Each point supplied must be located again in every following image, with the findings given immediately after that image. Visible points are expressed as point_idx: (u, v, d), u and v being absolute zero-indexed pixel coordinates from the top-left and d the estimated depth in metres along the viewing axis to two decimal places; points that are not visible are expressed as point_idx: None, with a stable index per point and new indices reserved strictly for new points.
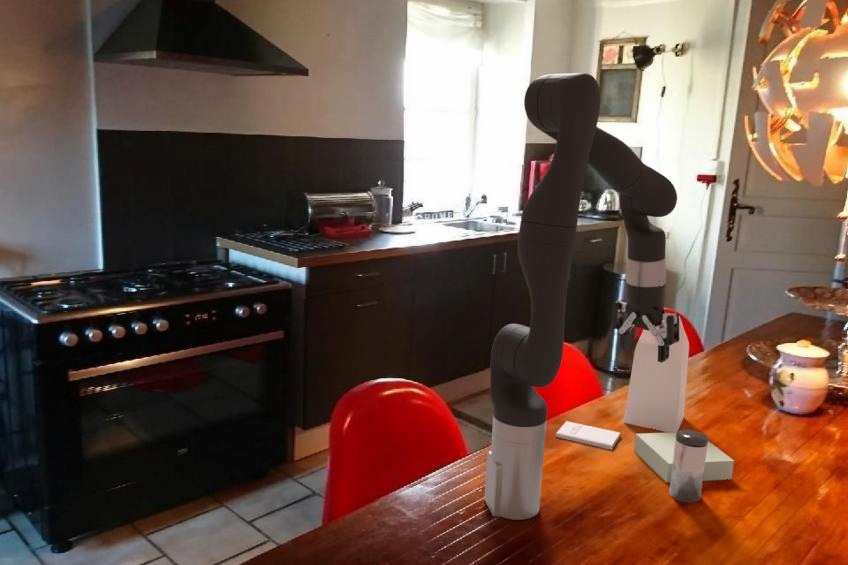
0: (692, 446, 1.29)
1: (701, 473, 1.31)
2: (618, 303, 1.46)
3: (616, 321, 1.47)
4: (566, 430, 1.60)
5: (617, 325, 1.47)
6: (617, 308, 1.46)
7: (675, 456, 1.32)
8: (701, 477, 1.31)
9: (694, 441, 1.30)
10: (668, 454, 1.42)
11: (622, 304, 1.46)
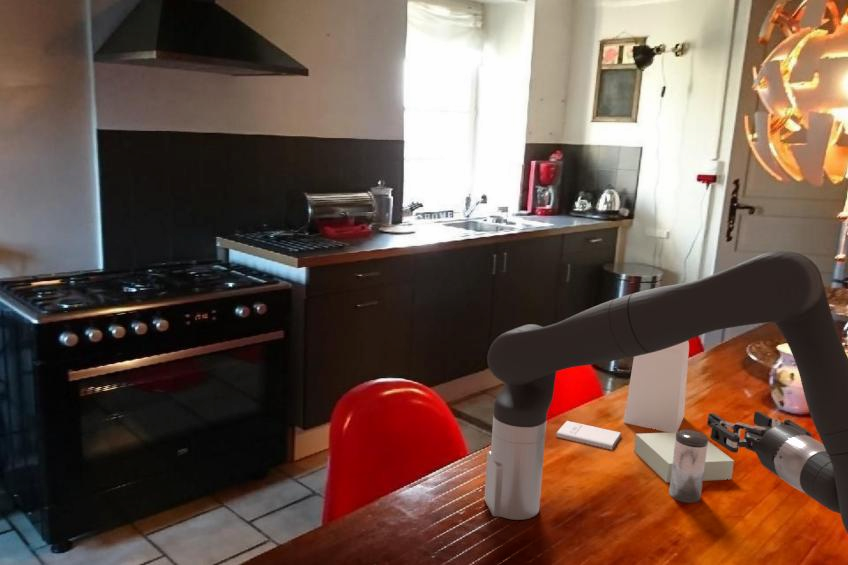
0: (692, 446, 1.29)
1: (701, 473, 1.31)
2: None
3: (790, 424, 1.15)
4: (566, 429, 1.60)
5: (786, 423, 1.16)
6: (801, 431, 1.12)
7: (675, 456, 1.32)
8: (701, 477, 1.31)
9: (694, 441, 1.30)
10: (668, 454, 1.42)
11: None
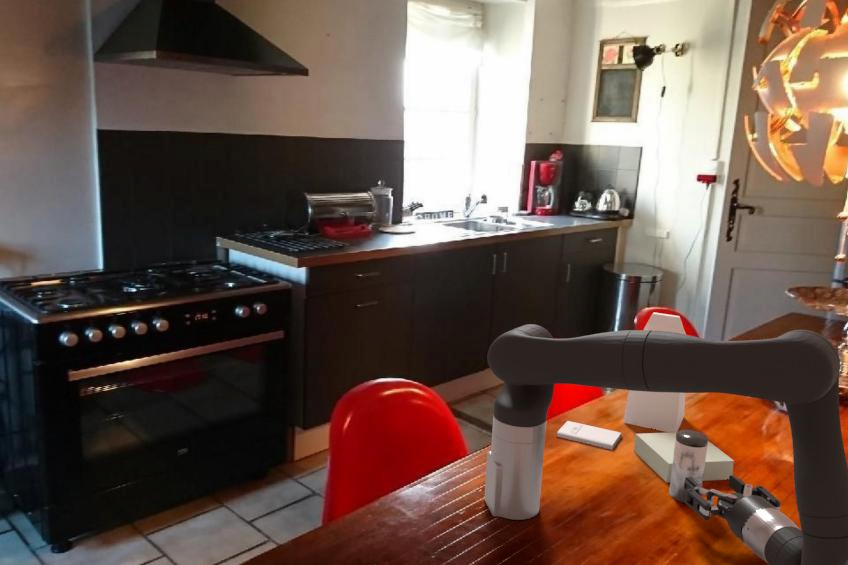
0: (692, 446, 1.29)
1: (701, 473, 1.31)
2: (775, 504, 1.18)
3: (762, 490, 1.21)
4: (566, 429, 1.60)
5: (757, 489, 1.22)
6: (771, 499, 1.18)
7: (675, 456, 1.32)
8: (701, 477, 1.31)
9: (694, 441, 1.30)
10: (668, 454, 1.42)
11: None
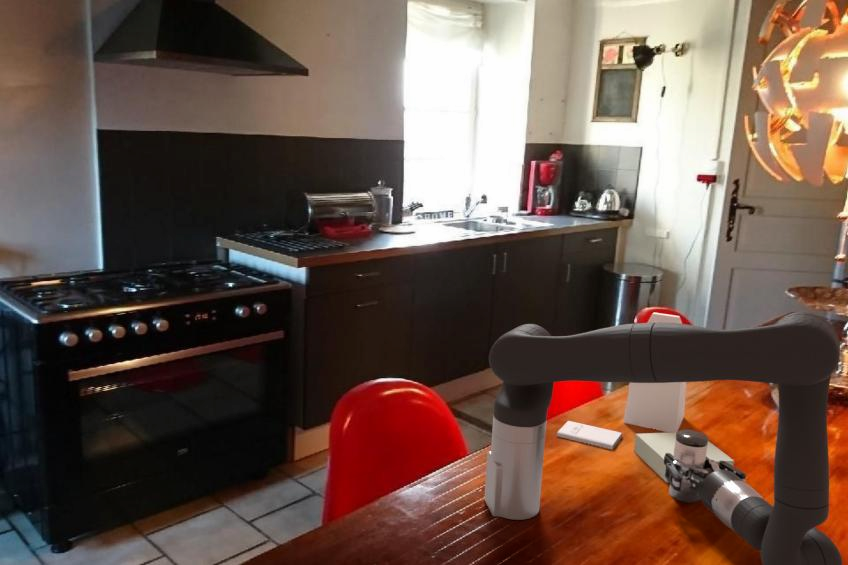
0: (692, 446, 1.29)
1: None
2: (741, 476, 1.27)
3: (725, 465, 1.30)
4: (567, 429, 1.60)
5: (720, 464, 1.31)
6: (737, 472, 1.27)
7: (675, 456, 1.32)
8: None
9: (694, 441, 1.30)
10: None
11: None
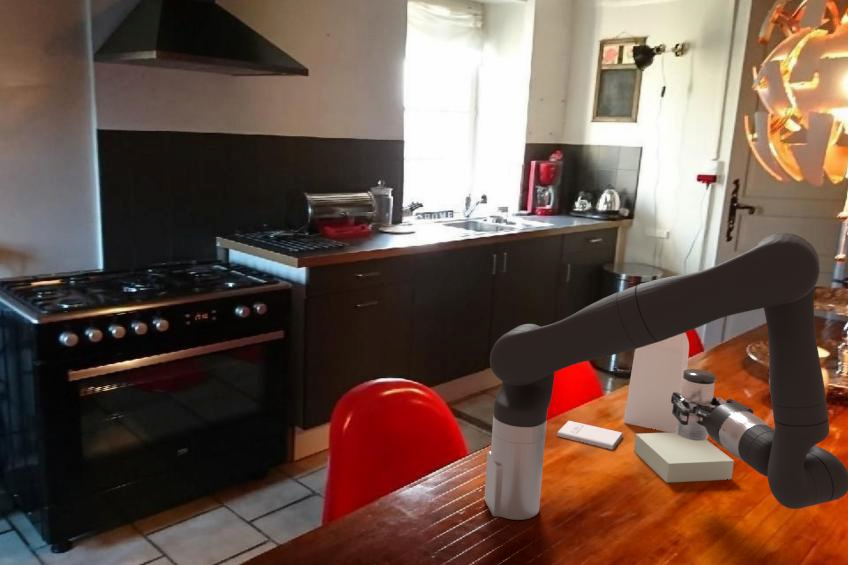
0: (700, 382, 1.30)
1: None
2: (749, 412, 1.27)
3: (733, 402, 1.30)
4: (567, 429, 1.60)
5: (728, 401, 1.31)
6: (745, 408, 1.27)
7: (683, 394, 1.32)
8: None
9: (701, 378, 1.30)
10: (668, 454, 1.42)
11: None
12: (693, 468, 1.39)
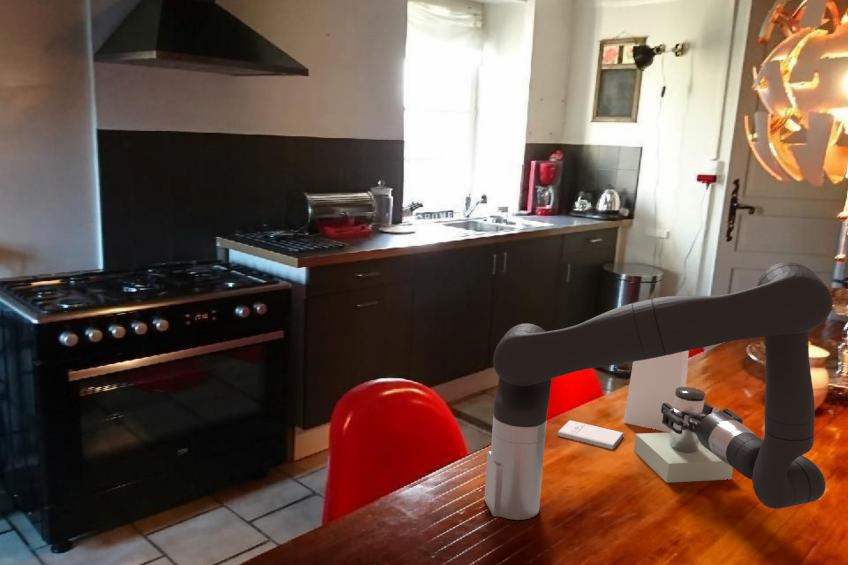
0: (690, 400, 1.41)
1: None
2: (738, 421, 1.37)
3: (727, 412, 1.41)
4: (568, 429, 1.60)
5: (724, 411, 1.42)
6: (735, 418, 1.38)
7: None
8: None
9: (692, 396, 1.41)
10: (668, 454, 1.42)
11: None
12: (693, 468, 1.39)
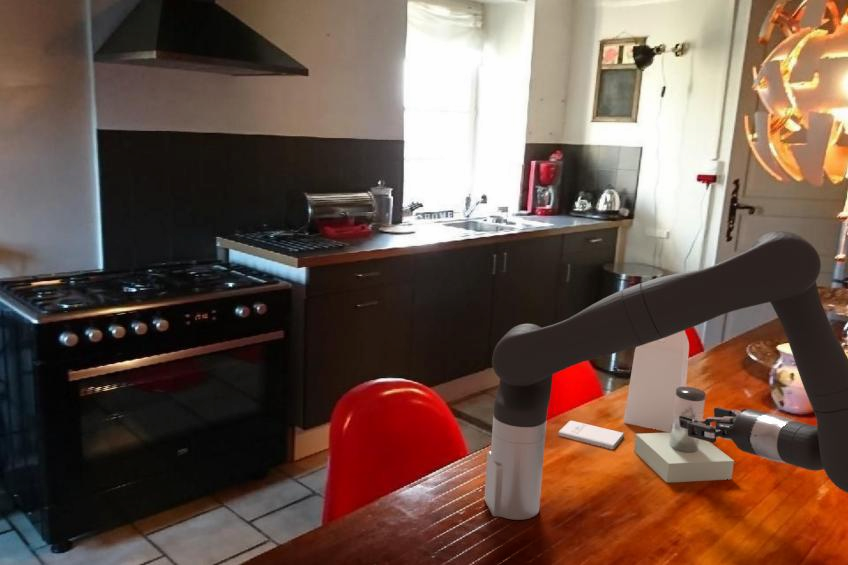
0: (691, 400, 1.41)
1: None
2: None
3: None
4: (568, 429, 1.60)
5: None
6: None
7: (675, 410, 1.44)
8: None
9: (692, 395, 1.41)
10: (668, 454, 1.42)
11: None
12: (693, 468, 1.39)
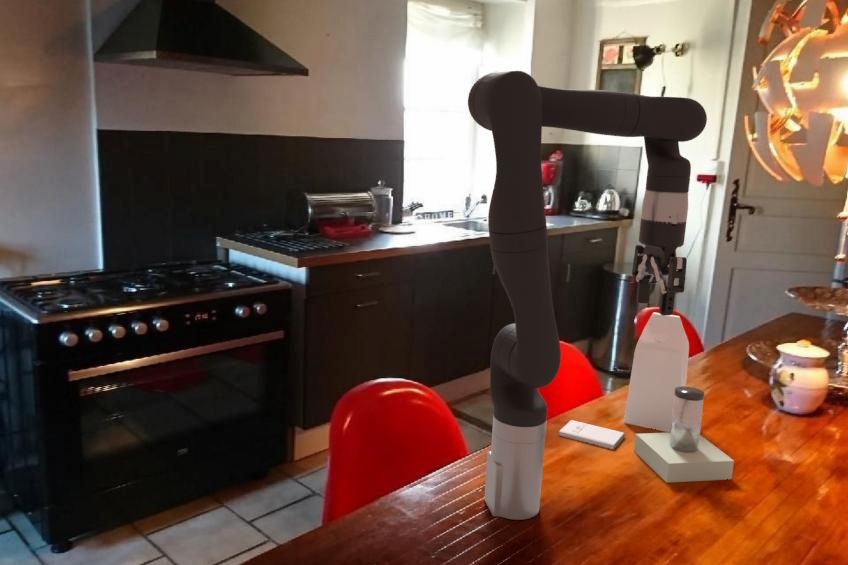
0: (689, 399, 1.41)
1: (698, 425, 1.43)
2: (640, 246, 1.29)
3: (635, 267, 1.30)
4: (569, 428, 1.60)
5: (636, 272, 1.31)
6: (637, 252, 1.30)
7: (674, 410, 1.44)
8: (698, 429, 1.43)
9: (691, 395, 1.41)
10: (668, 454, 1.42)
11: (643, 248, 1.29)
12: (693, 468, 1.39)
